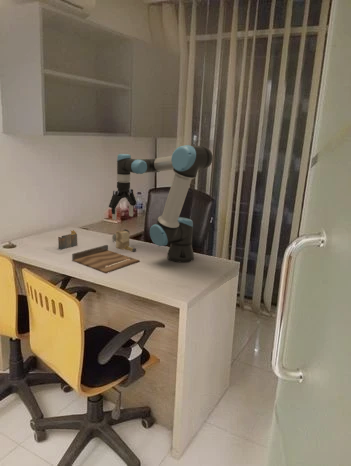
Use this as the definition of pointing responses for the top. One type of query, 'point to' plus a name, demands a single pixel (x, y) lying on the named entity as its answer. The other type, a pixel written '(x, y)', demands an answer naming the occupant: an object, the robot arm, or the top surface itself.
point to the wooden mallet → (123, 241)
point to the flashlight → (115, 235)
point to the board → (103, 259)
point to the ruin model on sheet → (68, 240)
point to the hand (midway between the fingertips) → (122, 217)
